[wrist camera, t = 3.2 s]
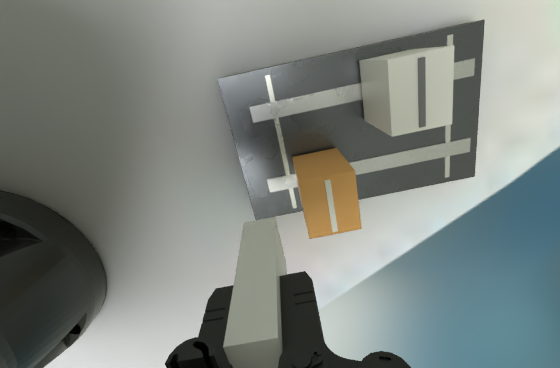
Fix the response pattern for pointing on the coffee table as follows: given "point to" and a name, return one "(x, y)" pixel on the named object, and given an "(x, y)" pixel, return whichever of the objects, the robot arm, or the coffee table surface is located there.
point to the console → (348, 122)
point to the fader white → (408, 90)
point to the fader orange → (327, 193)
